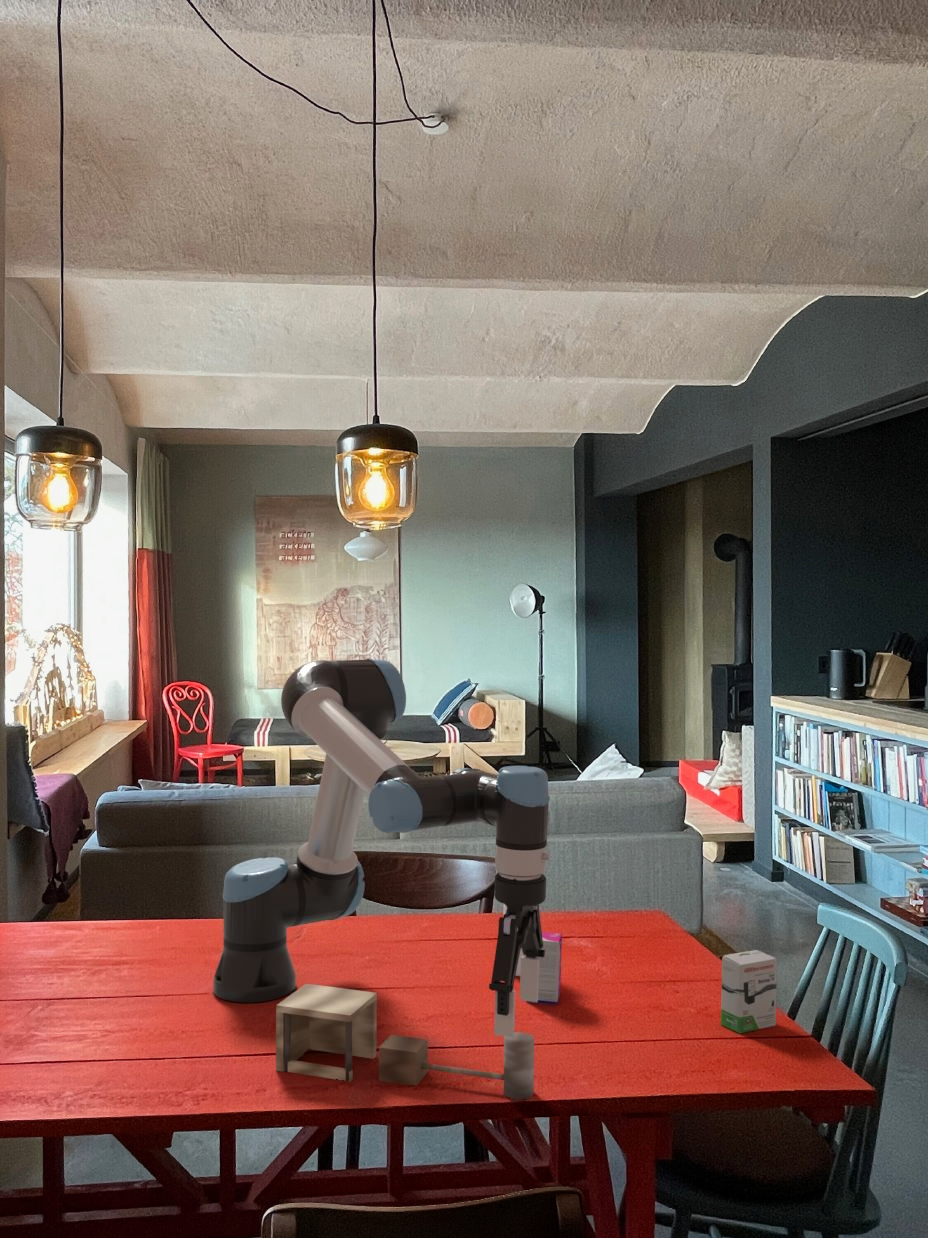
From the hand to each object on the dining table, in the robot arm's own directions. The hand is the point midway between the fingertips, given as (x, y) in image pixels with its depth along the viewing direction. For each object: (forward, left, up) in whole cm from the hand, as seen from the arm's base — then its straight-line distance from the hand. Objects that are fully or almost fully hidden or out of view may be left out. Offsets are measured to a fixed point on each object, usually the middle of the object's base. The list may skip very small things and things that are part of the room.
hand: (517, 1017), depth 152 cm
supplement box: (-5, +38, -11) cm, 40 cm away
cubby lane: (-31, 0, -11) cm, 32 cm away
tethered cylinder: (-9, -1, -11) cm, 14 cm away
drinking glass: (-13, +50, -11) cm, 53 cm away
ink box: (+31, +38, -11) cm, 50 cm away
